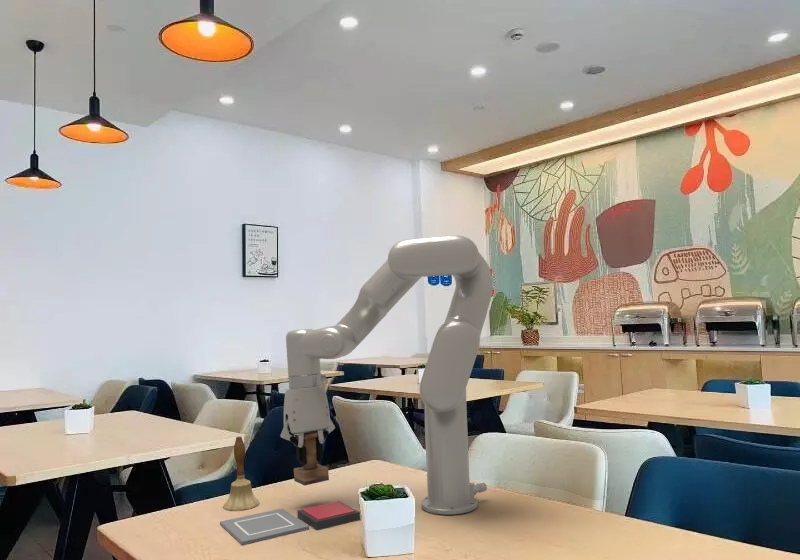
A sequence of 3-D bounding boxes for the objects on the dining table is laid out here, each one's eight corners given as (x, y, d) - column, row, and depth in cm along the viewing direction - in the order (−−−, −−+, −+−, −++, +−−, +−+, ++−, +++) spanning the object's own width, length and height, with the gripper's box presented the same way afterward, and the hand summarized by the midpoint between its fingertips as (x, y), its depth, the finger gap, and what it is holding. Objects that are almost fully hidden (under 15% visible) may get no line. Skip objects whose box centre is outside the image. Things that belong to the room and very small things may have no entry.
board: (282, 511, 136) (282, 508, 136) (309, 529, 123) (309, 525, 123) (220, 524, 128) (219, 521, 128) (242, 545, 116) (241, 541, 116)
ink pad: (338, 508, 136) (338, 500, 136) (359, 519, 128) (359, 511, 128) (297, 517, 131) (297, 509, 131) (316, 530, 122) (316, 521, 123)
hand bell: (238, 513, 136) (236, 441, 137) (215, 507, 141) (214, 438, 142) (267, 503, 142) (265, 435, 143) (244, 498, 147) (243, 432, 148)
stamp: (318, 475, 143) (314, 429, 144) (328, 480, 138) (325, 432, 139) (294, 480, 140) (291, 433, 141) (304, 485, 135) (301, 436, 135)
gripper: (329, 377, 148) (335, 453, 147) (265, 386, 139) (270, 466, 138) (343, 378, 142) (349, 458, 140) (277, 387, 133) (282, 472, 132)
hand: (310, 461), depth 139 cm, fingers closed on stamp, 3 cm apart
